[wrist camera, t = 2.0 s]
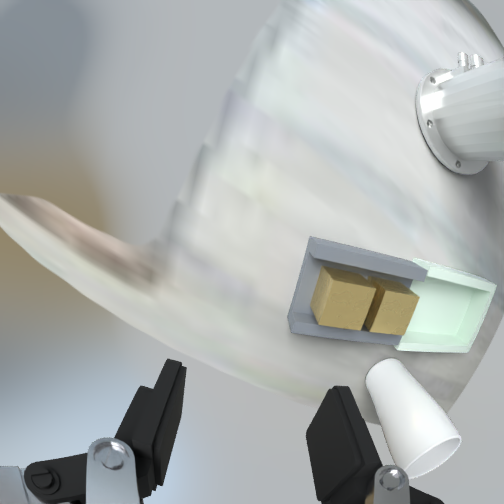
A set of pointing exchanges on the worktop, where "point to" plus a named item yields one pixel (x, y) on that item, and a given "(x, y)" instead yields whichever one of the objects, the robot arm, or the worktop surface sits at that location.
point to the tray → (446, 310)
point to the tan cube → (390, 307)
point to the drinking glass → (410, 419)
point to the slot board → (352, 261)
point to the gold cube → (341, 298)
